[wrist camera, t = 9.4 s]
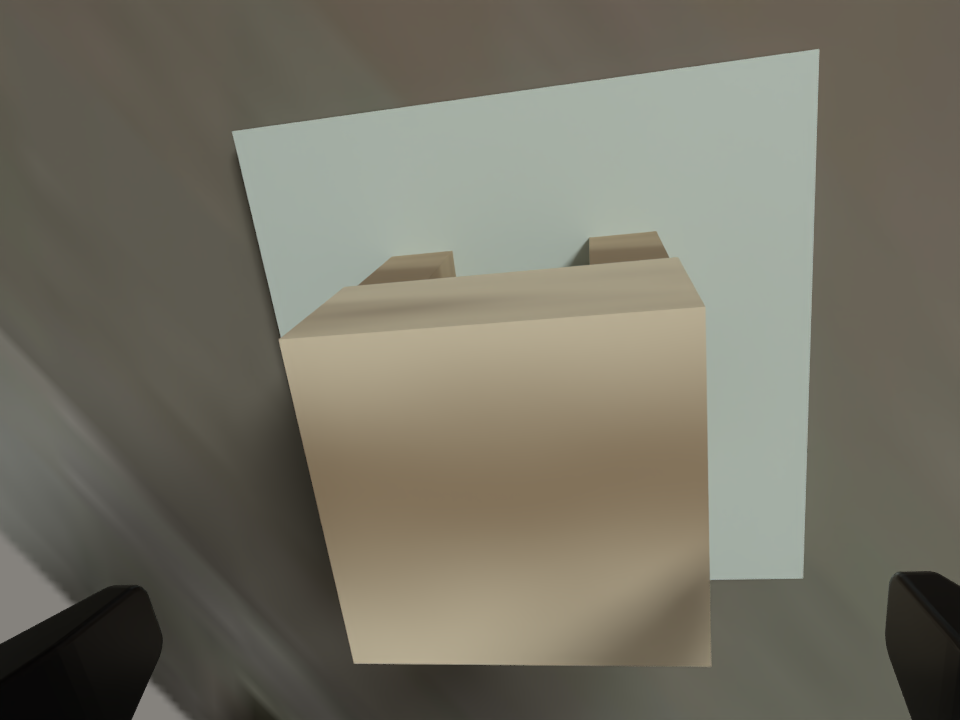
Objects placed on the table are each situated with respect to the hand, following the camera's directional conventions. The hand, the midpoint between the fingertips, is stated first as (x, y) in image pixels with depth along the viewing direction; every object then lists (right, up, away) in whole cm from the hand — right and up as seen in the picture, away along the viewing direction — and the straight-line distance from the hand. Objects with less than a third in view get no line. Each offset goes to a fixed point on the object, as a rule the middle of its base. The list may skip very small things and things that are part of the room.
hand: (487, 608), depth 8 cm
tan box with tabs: (+1, +3, +8) cm, 8 cm away
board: (+1, +3, +9) cm, 9 cm away
